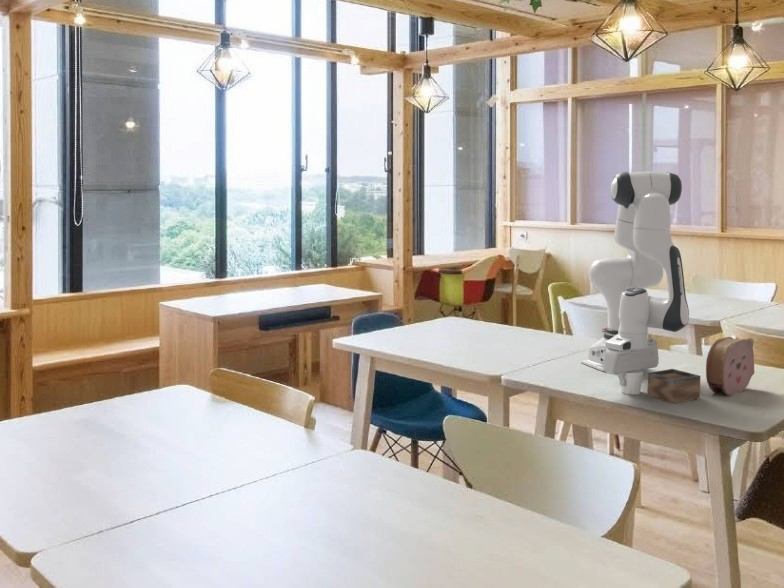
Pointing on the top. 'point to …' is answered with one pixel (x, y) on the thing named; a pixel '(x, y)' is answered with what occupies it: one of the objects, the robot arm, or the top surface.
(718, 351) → the face sculpture
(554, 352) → the top surface
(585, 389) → the top surface
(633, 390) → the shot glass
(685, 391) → the wooden box
